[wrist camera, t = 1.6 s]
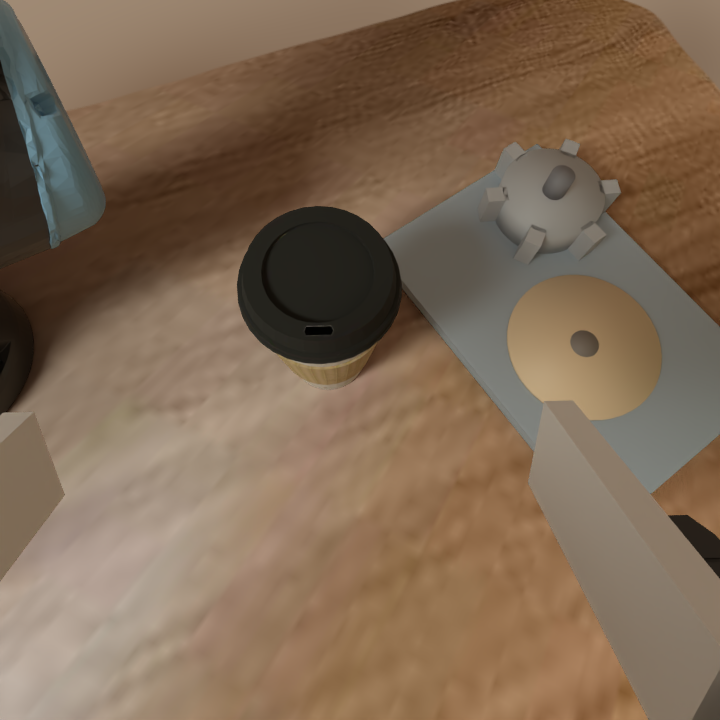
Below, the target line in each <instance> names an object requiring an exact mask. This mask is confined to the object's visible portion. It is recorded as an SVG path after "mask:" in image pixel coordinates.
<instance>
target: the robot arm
mask: <svg viewBox="0 0 720 720" xmlns="http://www.w3.org/2000/svg"><path fill="white" fill-rule="evenodd" d="M105 205H106V200H105V195H104V192H103V189H102V187H101V184H100V182H99V180H98V178H97V175H96V173H95V171H94V169H93V167H92V164H91V162H90V160H89V158H88V156H87V154H86V152H85V150H84V148H83V145H82V143H81V141H80V139H79V137H78V135H77V133H76V131H75V129H74V127H73V125H72V123H71V121H70V119H69V117H68V115H67V113H66V111H65V109H64V107H63V105H62V103H61V101H60V99H59V97H58V95H57V93H56V91H55V89H54V86H53V84H52V83H51V80H50V78H49V76H48V74H47V73H46V70H45V69H44V66H43V65H42V63H41V61H40V59H39V57H38V55H37V53H36V51H35V49H34V47H33V45H32V43H31V42H30V39H29V37H28V35H27V34H26V32H25V30H24V28H23V26H22V25H21V23H20V21H19V20H18V19H17V17H16V15H15V13H14V11H13V9H12V7H11V6H10V5H9V4H8V3H7V2H5V1H3V0H0V269H1V268H3V267H6V266H8V265H10V264H13V263H15V262H18V261H20V260H23V259H25V258H28V257H30V256H32V255H35V254H37V253H40V252H42V251H45V250H47V249H53V248H56V247H58V246H59V245H60V242H61V241H63V240H65V239H67V238H69V237H71V236H73V235H75V234H77V233H79V232H81V231H83V230H85V229H87V228H89V227H91V226H93V225H94V224H96V222H97V221H98V220H99V219H100V218H101V216H102V215H103V213H104V210H105ZM32 358H33V335H32V330H31V326H30V323H29V321H28V318H27V316H26V314H25V313H24V311H23V310H22V308H21V307H20V306H19V305H18V303H17V302H16V301H15V300H14V299H12V298H11V297H10V296H9V295H7V294H6V293H4V292H3V291H1V290H0V581H1V579H2V578H3V577H4V575H5V574H6V573H7V571H8V570H9V569H10V567H11V566H12V565H13V563H14V562H15V561H16V559H17V558H18V557H19V555H20V554H21V553H22V551H23V550H24V549H25V547H26V546H27V545H28V543H29V542H30V541H31V539H32V538H33V537H34V535H35V534H36V533H37V531H38V530H39V529H40V527H41V526H42V525H43V523H44V522H45V521H46V519H47V518H48V517H49V515H50V514H51V513H52V511H53V510H54V509H55V507H56V506H57V505H58V503H59V502H60V501H61V499H62V498H63V497H64V495H65V494H64V491H63V489H62V486H61V483H60V480H59V478H58V475H57V472H56V470H55V467H54V464H53V462H52V459H51V456H50V453H49V451H48V448H47V445H46V443H45V440H44V437H43V435H42V432H41V429H40V427H39V424H38V421H37V418H36V416H35V413H34V412H6V411H7V409H8V408H9V407H10V406H11V405H12V403H13V402H14V401H15V399H16V398H17V396H18V395H19V393H20V391H21V389H22V388H23V386H24V384H25V381H26V379H27V377H28V374H29V371H30V368H31V363H32ZM528 484H529V486H530V488H531V490H532V492H533V494H534V496H535V498H536V500H537V502H538V504H539V506H540V508H541V509H542V511H543V513H544V515H545V517H546V519H547V521H548V523H549V525H550V527H551V529H552V531H553V533H554V535H555V537H556V539H557V541H558V543H559V545H560V547H561V549H562V551H563V553H564V555H565V557H566V559H567V561H568V562H569V564H570V566H571V568H572V570H573V572H574V574H575V576H576V578H577V580H578V582H579V584H580V586H581V588H582V590H583V592H584V594H585V596H586V598H587V600H588V602H589V604H590V606H591V608H592V610H593V612H594V613H595V615H596V617H597V619H598V621H599V623H600V625H601V627H602V629H603V631H604V633H605V635H606V637H607V639H608V641H609V643H610V645H611V647H612V649H613V651H614V653H615V655H616V657H617V659H618V661H619V663H620V664H621V666H622V668H623V670H624V672H625V674H626V676H627V678H628V680H629V682H630V684H631V686H632V688H633V690H634V692H635V694H636V696H637V698H638V700H639V702H640V704H641V706H642V708H643V710H644V712H645V714H646V716H647V717H648V719H649V720H720V540H719V539H718V538H717V536H716V535H715V534H713V533H712V532H711V531H709V530H708V529H706V528H705V527H704V526H702V525H701V524H699V523H698V522H696V521H695V520H694V519H692V518H691V517H689V516H688V515H672V516H668V515H667V514H666V513H665V512H664V510H663V509H662V508H661V507H660V506H659V504H658V503H657V502H656V501H655V499H654V498H653V497H652V496H651V495H650V493H649V492H648V491H647V490H646V488H645V487H644V486H643V485H642V484H641V482H640V481H639V480H638V479H637V478H636V476H635V475H634V474H633V473H632V471H631V470H630V469H629V468H628V467H627V465H626V464H625V463H624V462H623V461H622V459H621V458H620V457H619V456H618V454H617V453H616V452H615V451H614V450H613V448H612V447H611V446H610V445H609V444H608V442H607V441H606V440H605V439H604V437H603V436H602V435H601V434H600V433H599V431H598V430H597V429H596V428H595V426H594V425H593V424H592V423H591V422H590V420H589V419H588V418H587V417H586V416H585V414H584V413H583V412H582V411H581V409H580V408H579V407H578V406H577V405H576V403H575V402H574V401H573V400H569V401H544V404H543V409H542V414H541V419H540V424H539V430H538V435H537V440H536V445H535V450H534V455H533V460H532V465H531V470H530V475H529V481H528Z"/></svg>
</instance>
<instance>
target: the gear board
mask: <svg viewBox="0 0 720 720" xmlns="http://www.w3.org/2000/svg"><path fill="white" fill-rule="evenodd" d="M579 146H580V144H579V143H577V142H574V141H571V140H568V139H565V141H564V142H563V144H562V146H561V147H560V149H559V150H557V149H542V148H541V147H540V146H539V145H538V144H536V145H534V146H533V147H531V148H529V149H528V150H526V151H524V150H523V149H522V148H521V147H520V146H519V145H518V144H517V143H516V142H514V143H512V144H511V145H509V146H507V147H506V148H504V149H503V152H502V154H501V156H500V159H499V161H498V163H497V166H496V168H495V170H494V171H492V172H491V173H489V174H487V175H486V176H484V177H482V178H481V179H479V180H478V181H476V182H474V183H473V184H471V185H469V186H468V187H466V188H465V189H463V190H461V191H460V192H458V193H457V194H455V195H453V196H452V197H450V198H448V199H447V200H445V201H444V202H442V203H440V204H439V205H437V206H435V207H434V208H432V209H431V210H429V211H427V212H426V213H424V214H423V215H421V216H419V217H418V218H416V219H414V220H413V221H411V222H410V223H408V224H406V225H405V226H403V227H401V228H400V229H398V230H397V231H395V232H393V233H392V234H390V235H388V236H387V237H385V238H384V240H385V241H386V243H387V244H388V246H389V247H390V249H391V250H392V252H393V253H394V256H395V258H396V261H397V263H398V266H399V270H400V276H401V281H402V289H403V290H404V291H405V293H406V294H407V295H408V296H409V298H410V299H411V300H412V301H413V303H414V304H415V305H416V306H417V308H418V309H419V310H420V311H421V312H422V314H423V315H424V316H425V317H426V319H427V320H428V321H429V322H430V324H431V325H432V326H433V327H434V329H435V330H436V331H437V332H438V333H439V335H440V336H441V337H442V338H443V340H444V341H445V342H446V343H447V345H448V346H449V347H450V348H451V350H452V351H453V352H454V353H455V355H456V356H457V357H458V358H459V359H460V361H461V362H462V363H463V364H464V366H465V367H466V368H467V369H468V371H469V372H470V373H471V374H472V376H473V377H474V378H475V379H476V381H477V382H478V383H479V384H480V385H481V387H482V388H483V389H484V390H485V392H486V393H487V394H488V395H489V397H490V398H491V399H492V400H493V402H494V403H495V404H496V405H497V407H498V408H499V409H500V410H501V411H502V413H503V414H504V415H505V416H506V418H507V419H508V420H509V421H510V423H511V424H512V425H513V426H514V428H515V429H516V430H517V431H518V433H519V434H520V435H521V436H522V437H523V439H524V440H525V441H526V442H527V444H528V445H529V446H530V447H531V449H532V450H533V451H534V450H535V445H536V440H537V435H538V430H539V424H540V419H541V414H542V409H543V404H544V401H569V400H573V401H574V402H575V403H576V405H577V406H578V407H579V408H580V409H581V411H582V412H583V413H584V414H585V416H586V417H587V418H588V419H589V420H590V422H591V423H592V424H593V425H594V426H595V428H596V429H597V430H598V431H599V433H600V434H601V435H602V436H603V437H604V439H605V440H606V441H607V442H608V444H609V445H610V446H611V447H612V448H613V450H614V451H615V452H616V453H617V454H618V456H619V457H620V458H621V459H622V461H623V462H624V463H625V464H626V465H627V467H628V468H629V469H630V470H631V471H632V473H633V474H634V475H635V476H636V478H637V479H638V480H639V481H640V482H641V484H642V485H643V486H644V487H645V488H646V490H647V491H648V492H649V493H650V494H651V493H652V492H654V491H655V490H656V489H657V488H658V487H659V486H661V485H662V484H663V483H664V482H665V481H666V480H667V479H669V478H670V477H671V476H672V475H673V474H674V473H676V472H677V471H678V470H679V469H680V468H681V467H682V466H684V465H685V464H686V463H687V462H688V461H689V460H691V459H692V458H693V457H694V456H695V455H696V454H698V453H699V452H700V451H701V450H702V449H703V448H704V447H706V446H707V445H708V444H709V443H710V442H711V441H713V440H714V439H715V438H716V437H717V436H718V435H719V434H720V327H719V326H718V325H717V324H716V323H715V322H714V321H713V320H712V319H711V318H710V317H709V316H708V315H707V314H706V313H705V312H704V311H703V310H702V309H701V308H700V307H699V306H698V305H697V304H696V303H695V302H694V301H693V300H692V299H691V298H690V297H689V296H688V295H687V294H686V293H685V292H684V291H683V290H682V288H681V287H680V286H679V285H678V284H677V283H676V282H675V281H674V280H673V279H672V278H671V277H670V276H669V275H668V274H667V273H666V272H665V271H664V270H663V269H662V268H661V267H660V266H659V265H658V264H657V263H656V262H655V261H654V260H653V259H652V258H651V257H650V256H649V255H648V254H647V253H646V252H645V251H644V250H643V249H642V248H641V247H640V246H639V245H638V244H637V243H636V242H635V241H634V240H633V239H632V238H631V237H630V236H629V235H628V234H627V233H626V232H625V231H624V230H623V229H622V228H621V227H620V226H619V225H618V224H617V223H616V222H615V221H614V220H613V219H612V218H611V217H610V216H609V215H608V214H607V213H606V212H605V211H606V210H607V209H608V207H609V206H610V205H611V204H612V203H613V202H614V200H615V199H616V198H617V197H618V196H619V195H620V193H621V191H620V188H619V185H618V181H617V179H616V180H600V178H599V176H598V175H597V173H596V172H595V171H594V170H593V168H592V167H591V166H590V165H588V164H587V163H586V162H585V161H583V160H582V159H581V158H579V157H577V156H576V154H577V151H578V149H579Z"/></svg>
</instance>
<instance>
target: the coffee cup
mask: <svg viewBox="0 0 720 720" xmlns="http://www.w3.org/2000/svg"><path fill="white" fill-rule="evenodd" d="M237 291H238V303H239V307H240V310H241V314H242V317H243V319H244V321H245V322H246V324H247V326H248V328H249V330H250V331H251V332H252V333H253V334H254V336H255V337H256V338H257V339H258V340H259V341H260V342H261V343H262V344H263V345H265V346H266V347H267V348H269V349H270V350H271V351H273V352H274V353H276V354H277V355H278V356H279V357H280V358H281V359H282V360H283V361H284V363H285V364H286V365H287V366H288V367H289V368H290V369H291V370H292V371H293V372H294V373H295V374H296V375H298V376H299V377H300V378H302V379H303V380H304V381H305V382H306V383H308V384H309V385H311V386H313V387H315V388H319V389H324V390H332V389H338V388H341V387H344V386H346V385H347V384H349V383H351V382H352V381H353V380H354V379H355V378H356V377H357V376H358V374H359V373H360V371H361V369H362V368H363V367H364V366H365V364H366V363H367V361H368V359H369V357H370V355H371V354H372V352H373V350H374V348H375V346H376V344H377V343H378V341H379V340H380V339H381V338H382V337H383V336H384V334H385V333H386V332H387V331H388V329H389V328H390V327H391V325H392V323H393V321H394V319H395V317H396V315H397V313H398V310H399V306H400V302H401V295H402V281H401V276H400V270H399V266H398V263H397V261H396V258H395V256H394V253H393V252H392V250H391V249H390V247H389V246H388V244H387V243H386V241H385V240H384V239H383V238H382V237H381V236H380V234H379V233H378V232H377V231H376V230H375V229H374V228H373V227H372V226H371V225H370V224H369V223H368V222H366V221H365V220H363V219H362V218H360V217H359V216H357V215H355V214H352V213H350V212H348V211H345V210H341V209H337V208H333V207H322V206H315V207H305V208H300V209H297V210H293V211H290V212H287V213H285V214H283V215H281V216H279V217H277V218H276V219H274V220H273V221H271V222H270V223H268V224H267V225H266V226H265V227H264V228H263V229H262V230H261V231H260V232H259V233H258V234H257V235H256V237H255V238H254V240H253V241H252V243H251V244H250V246H249V248H248V251H247V252H246V254H245V256H244V259H243V261H242V264H241V266H240V269H239V275H238V281H237Z"/></svg>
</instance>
